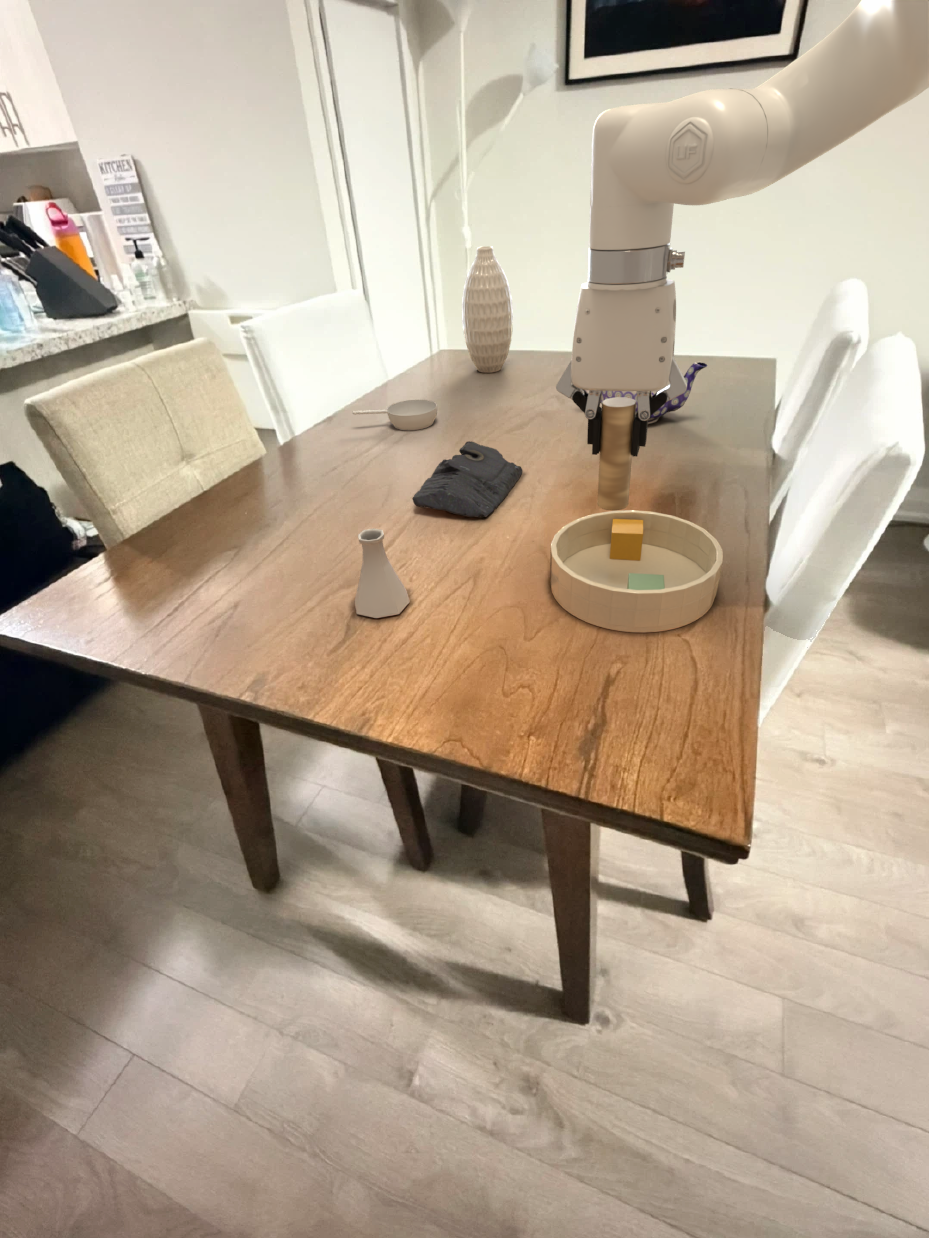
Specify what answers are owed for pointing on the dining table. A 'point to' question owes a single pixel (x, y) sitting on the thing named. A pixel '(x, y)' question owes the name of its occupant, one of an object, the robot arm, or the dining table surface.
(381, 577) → the flask
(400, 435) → the dining table surface
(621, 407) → the beige marbled cylinder
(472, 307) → the vase
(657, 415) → the teapot
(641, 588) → the sage block
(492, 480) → the dark slate chunk
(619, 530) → the mustard block
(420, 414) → the small pan
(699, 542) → the bowl
